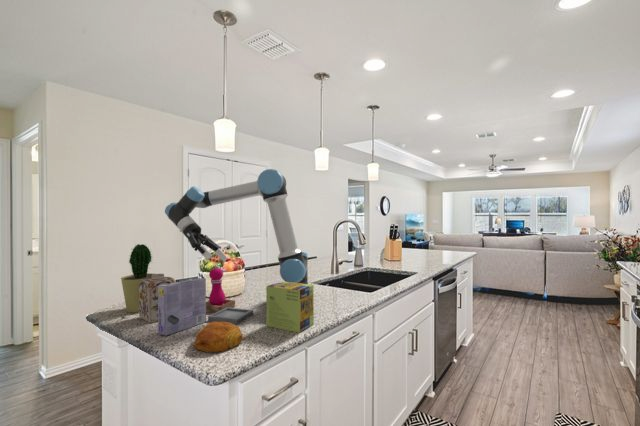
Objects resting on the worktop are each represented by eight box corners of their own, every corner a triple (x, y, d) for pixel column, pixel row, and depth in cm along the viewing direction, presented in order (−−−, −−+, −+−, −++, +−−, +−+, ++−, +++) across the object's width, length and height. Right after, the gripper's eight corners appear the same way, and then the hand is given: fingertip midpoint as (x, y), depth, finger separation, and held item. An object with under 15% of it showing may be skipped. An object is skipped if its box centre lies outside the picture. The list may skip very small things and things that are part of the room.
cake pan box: (200, 319, 135) (200, 276, 135) (209, 321, 132) (208, 277, 132) (156, 334, 118) (156, 285, 118) (165, 337, 116) (164, 286, 116)
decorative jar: (148, 323, 130) (148, 278, 130) (138, 317, 138) (137, 274, 138) (178, 316, 139) (178, 273, 139) (167, 311, 146) (166, 270, 146)
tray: (253, 314, 140) (253, 309, 140) (236, 324, 128) (236, 319, 128) (226, 311, 144) (226, 307, 144) (208, 321, 132) (208, 316, 132)
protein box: (300, 333, 119) (300, 290, 119) (265, 326, 126) (265, 285, 126) (314, 324, 128) (314, 284, 128) (281, 318, 135) (281, 280, 135)
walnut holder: (235, 306, 152) (235, 300, 152) (220, 313, 142) (220, 306, 142) (214, 304, 156) (214, 298, 156) (199, 311, 145) (199, 304, 145)
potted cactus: (114, 314, 142) (113, 244, 142) (131, 304, 157) (130, 241, 157) (151, 313, 143) (150, 244, 143) (164, 303, 158) (164, 241, 158)
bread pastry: (214, 340, 118) (211, 317, 119) (250, 340, 112) (247, 316, 113) (183, 355, 105) (180, 329, 106) (222, 356, 99) (219, 329, 100)
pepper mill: (206, 309, 149) (204, 265, 148) (220, 305, 154) (218, 262, 153) (214, 312, 144) (212, 267, 143) (229, 308, 149) (227, 264, 148)
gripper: (200, 237, 166) (226, 266, 159) (166, 230, 142) (196, 264, 136) (209, 226, 166) (236, 254, 159) (177, 217, 142) (207, 250, 135)
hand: (218, 259), depth 147 cm, fingers open, 13 cm apart
